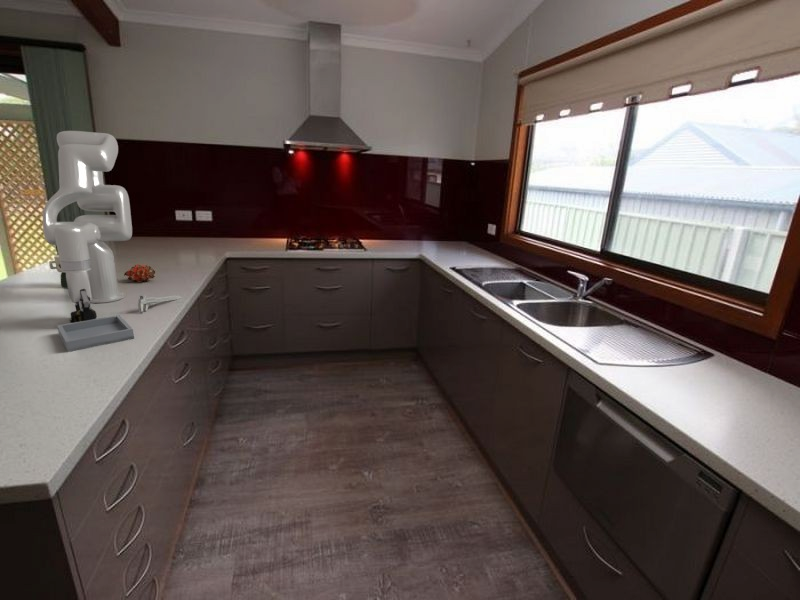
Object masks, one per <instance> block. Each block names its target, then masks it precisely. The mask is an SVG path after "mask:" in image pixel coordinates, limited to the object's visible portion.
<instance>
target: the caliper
mask: <svg viewBox="0 0 800 600" xmlns="http://www.w3.org/2000/svg"><path fill="white" fill-rule="evenodd" d="M182 298H183V297H182V296H180V295H178V294H177V295H170V296H163V297H155V296H153V297H147V296H146V295H144V294H143V295H139V298H138V302H137V306H138V313H140V314H143V313H147V312H148V309H149V305H150V306H153V305H154V306H156V305H157V303H163V302H169V301H177V300H179V299H182Z"/></svg>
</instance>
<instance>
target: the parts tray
mask: <svg viewBox="0 0 800 600" xmlns="http://www.w3.org/2000/svg"><path fill="white" fill-rule="evenodd" d="M56 326H57V331H58V335H59V338H60V339H61V341H62V343H63V345H64V347H65V349H66V351H67V352H68V353H71V352H73V351H79V350H84V349H89V348H94V346H95V347H100V346H105V345H108V343H109V344H114V343H118V342H123V341H128V339H129V340H133V339H135V336H134V329H133V327H132V326H130V324H129V323H128V322H127V321H126V320H125V319H124V318H123V317H122V316H121V315H120V314H118V315H111V316H105V317H100V318H96V319H92V320H87V321H81V322H75V323H70V322H69V323H64V324H58V325H56ZM104 344H105V345H104ZM99 345H100V346H99Z"/></svg>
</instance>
